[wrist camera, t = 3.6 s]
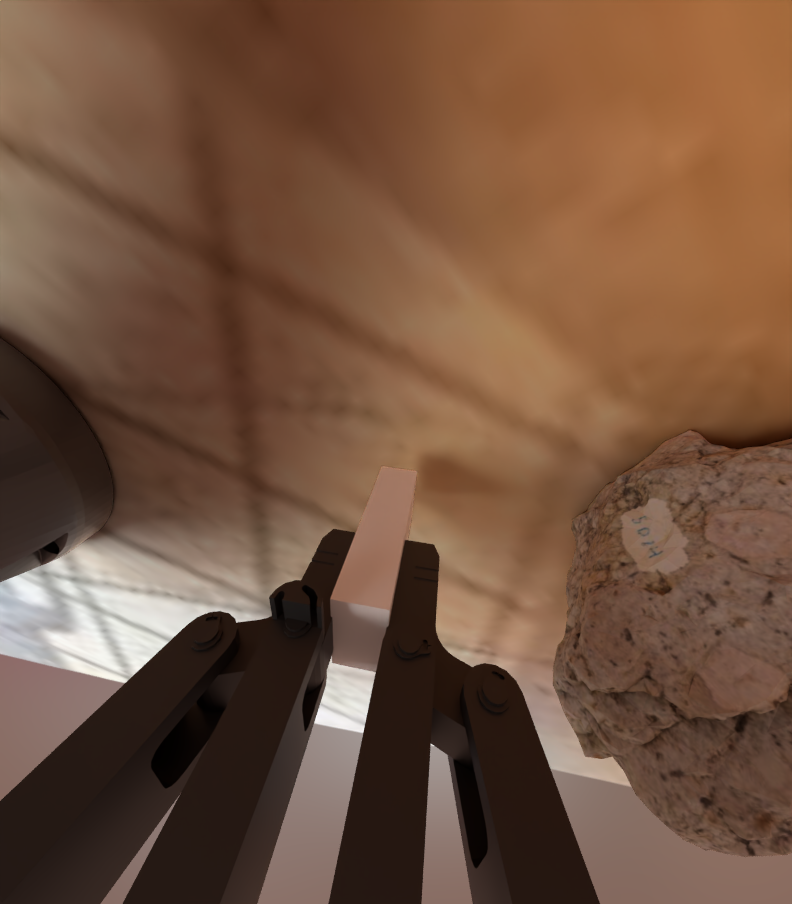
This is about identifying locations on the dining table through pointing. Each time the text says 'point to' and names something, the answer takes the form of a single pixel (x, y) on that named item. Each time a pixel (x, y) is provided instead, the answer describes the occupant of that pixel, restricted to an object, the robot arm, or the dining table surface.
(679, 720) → the rock
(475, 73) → the dining table surface
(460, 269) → the dining table surface
